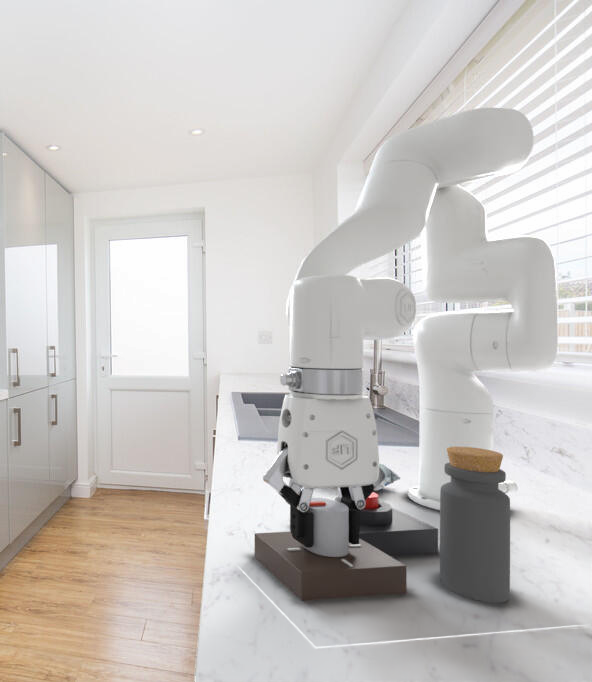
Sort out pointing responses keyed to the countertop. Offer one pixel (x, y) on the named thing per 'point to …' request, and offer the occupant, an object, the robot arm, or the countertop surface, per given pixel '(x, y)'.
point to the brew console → (330, 569)
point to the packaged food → (387, 477)
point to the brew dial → (330, 527)
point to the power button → (372, 501)
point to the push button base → (396, 532)
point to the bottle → (475, 526)
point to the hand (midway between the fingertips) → (324, 539)
